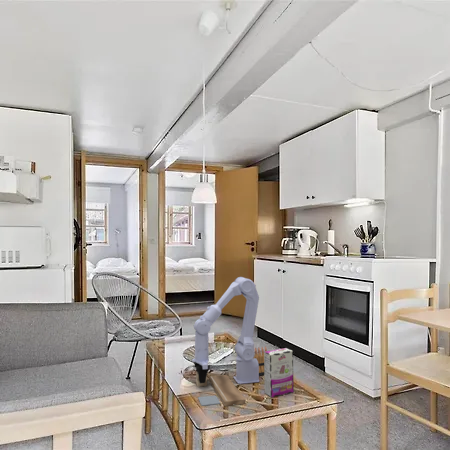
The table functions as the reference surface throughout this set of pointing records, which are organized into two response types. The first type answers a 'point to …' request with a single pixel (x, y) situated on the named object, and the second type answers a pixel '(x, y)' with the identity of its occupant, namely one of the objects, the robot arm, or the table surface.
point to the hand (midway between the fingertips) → (201, 381)
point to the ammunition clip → (260, 359)
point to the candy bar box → (278, 372)
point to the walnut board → (226, 390)
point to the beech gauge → (199, 381)
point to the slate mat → (208, 400)
